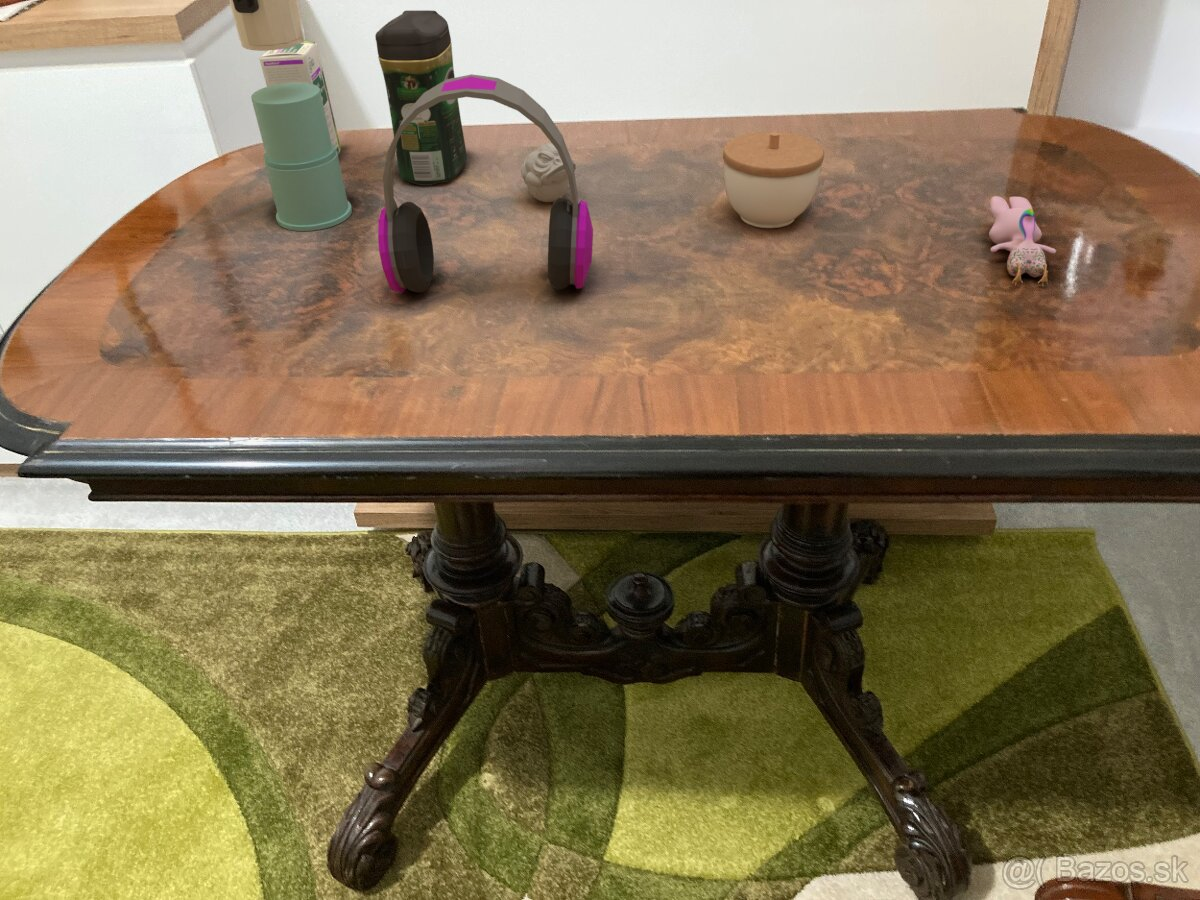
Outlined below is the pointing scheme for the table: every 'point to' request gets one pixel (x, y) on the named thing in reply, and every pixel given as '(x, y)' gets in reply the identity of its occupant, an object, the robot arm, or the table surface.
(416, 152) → the coffee jar
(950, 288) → the table surface
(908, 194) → the table surface
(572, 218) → the headphones
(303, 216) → the cup stack
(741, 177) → the lidded sugar bowl
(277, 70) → the syrup box
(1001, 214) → the rabbit figure
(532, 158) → the frog figurine
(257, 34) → the cream cup
